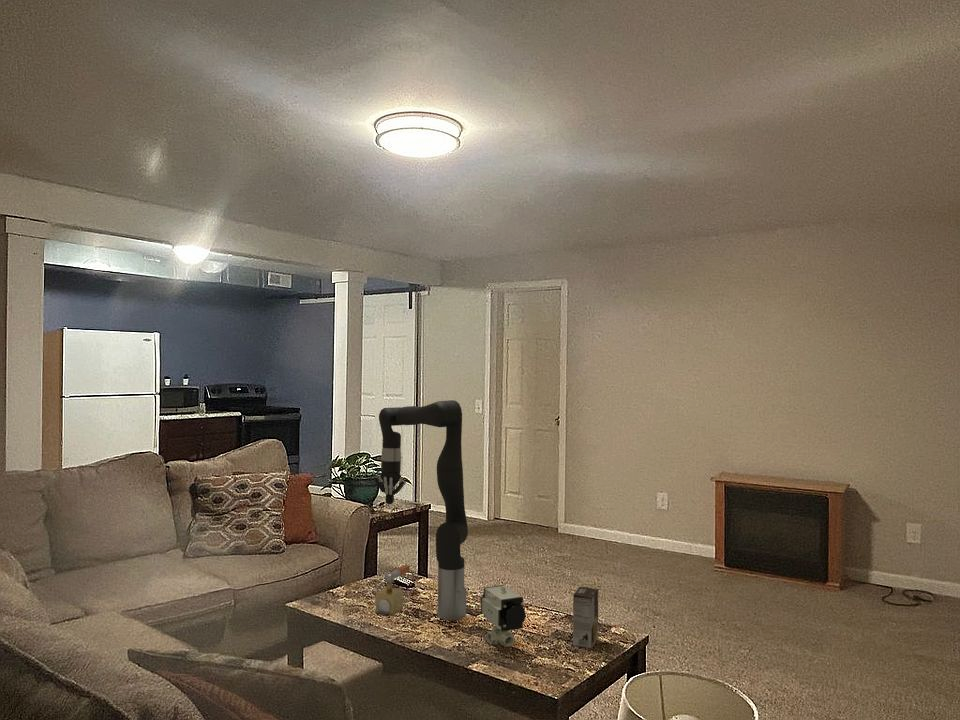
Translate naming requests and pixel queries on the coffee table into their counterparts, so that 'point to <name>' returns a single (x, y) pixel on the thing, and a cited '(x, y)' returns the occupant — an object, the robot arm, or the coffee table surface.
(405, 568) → the valve lever
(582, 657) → the coffee table surface
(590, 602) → the coffee box
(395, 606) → the valve housing
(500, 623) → the ball valve
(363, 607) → the coffee table surface
